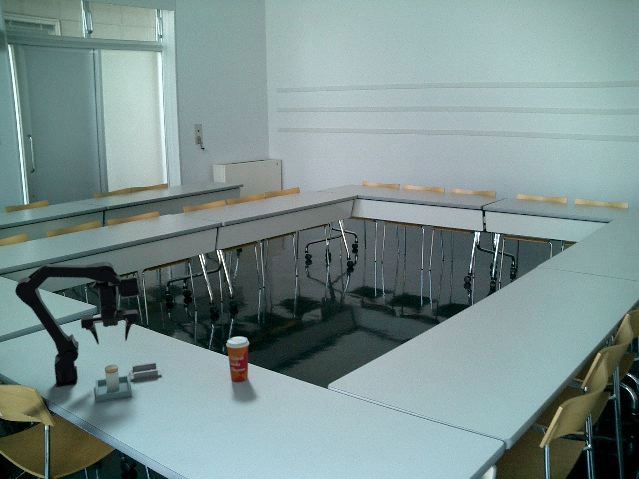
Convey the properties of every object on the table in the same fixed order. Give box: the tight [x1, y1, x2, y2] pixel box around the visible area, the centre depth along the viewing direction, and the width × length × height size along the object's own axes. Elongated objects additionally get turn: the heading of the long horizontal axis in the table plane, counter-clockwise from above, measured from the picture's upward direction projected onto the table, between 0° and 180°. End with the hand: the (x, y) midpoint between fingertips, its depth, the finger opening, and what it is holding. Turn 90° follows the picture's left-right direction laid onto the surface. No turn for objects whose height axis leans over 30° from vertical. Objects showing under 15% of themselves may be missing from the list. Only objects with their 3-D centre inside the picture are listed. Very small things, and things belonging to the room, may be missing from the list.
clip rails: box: [128, 361, 163, 382], centre depth 226 cm, size 10×8×2 cm
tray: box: [94, 374, 133, 403], centre depth 213 cm, size 11×13×2 cm
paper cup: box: [225, 336, 250, 383], centre depth 220 cm, size 8×8×14 cm
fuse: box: [104, 364, 120, 392], centre depth 212 cm, size 4×4×8 cm
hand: (112, 342), depth 224 cm, fingers open, 9 cm apart
